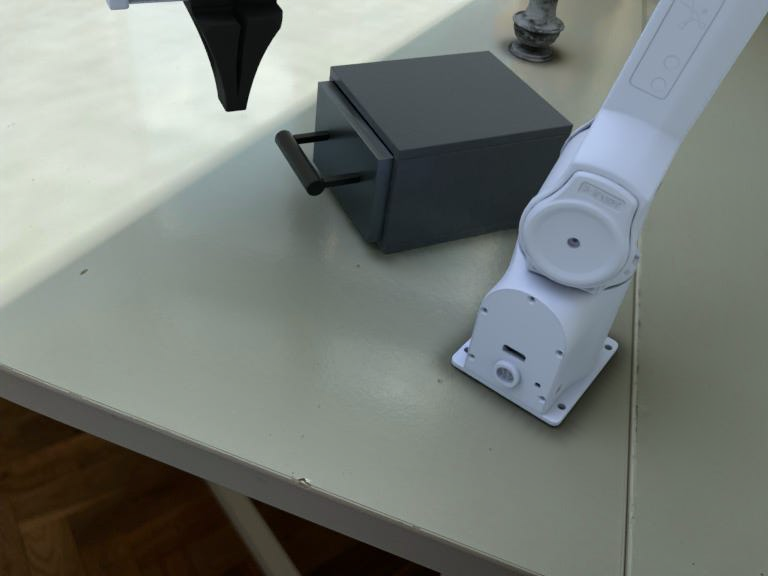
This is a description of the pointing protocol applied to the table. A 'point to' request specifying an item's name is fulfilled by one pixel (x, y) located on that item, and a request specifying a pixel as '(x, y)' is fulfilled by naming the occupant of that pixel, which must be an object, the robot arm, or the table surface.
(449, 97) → the cabinet
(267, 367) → the table surface
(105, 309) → the table surface
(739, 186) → the table surface
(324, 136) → the drawer
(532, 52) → the ornate metal candlestick
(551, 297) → the robot arm
